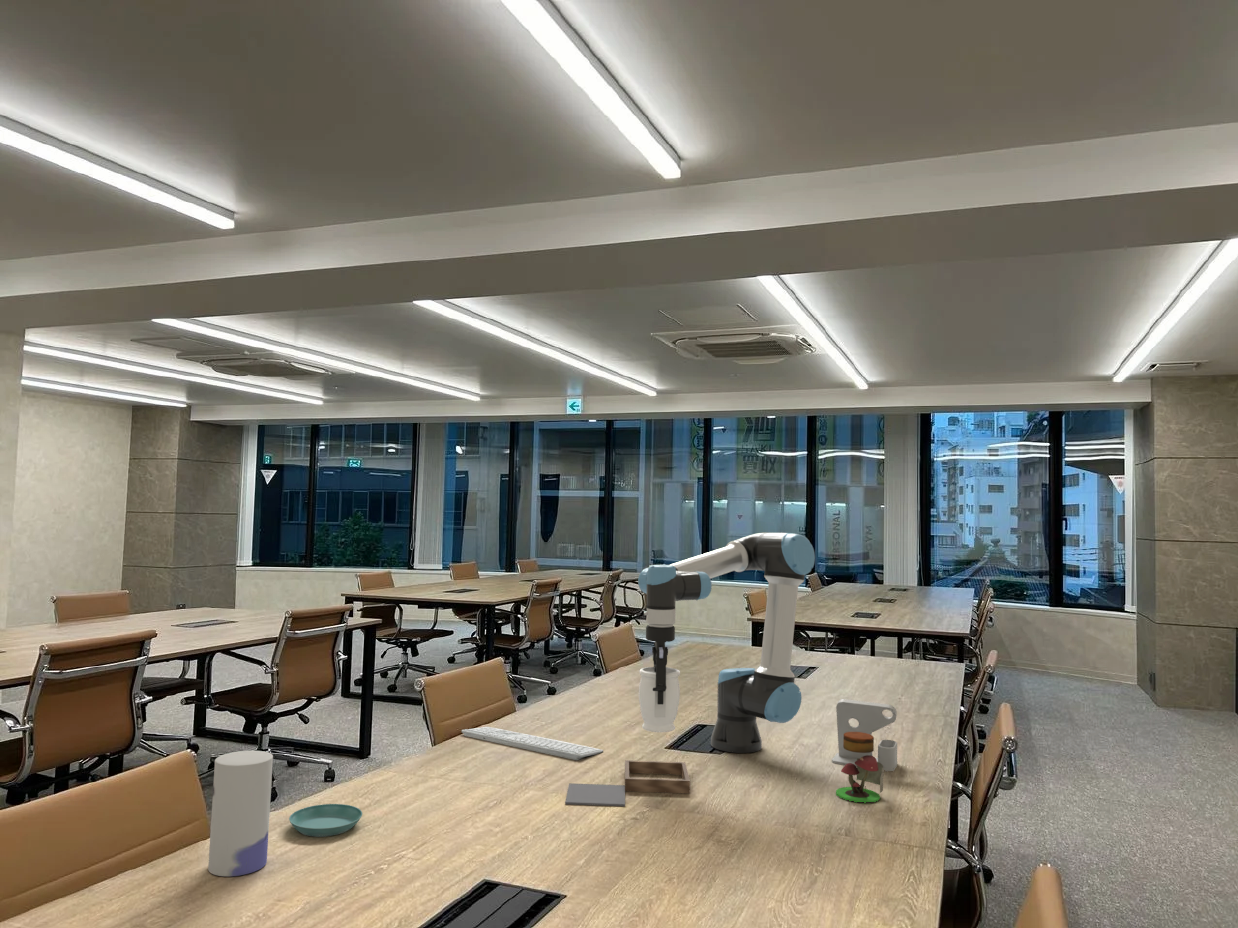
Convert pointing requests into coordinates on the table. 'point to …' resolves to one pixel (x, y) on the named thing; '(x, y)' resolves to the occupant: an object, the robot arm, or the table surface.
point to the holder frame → (657, 784)
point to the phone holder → (865, 730)
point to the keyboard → (532, 742)
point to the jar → (649, 700)
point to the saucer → (325, 819)
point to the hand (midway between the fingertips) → (658, 711)
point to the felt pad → (595, 794)
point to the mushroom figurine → (861, 769)
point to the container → (240, 813)
